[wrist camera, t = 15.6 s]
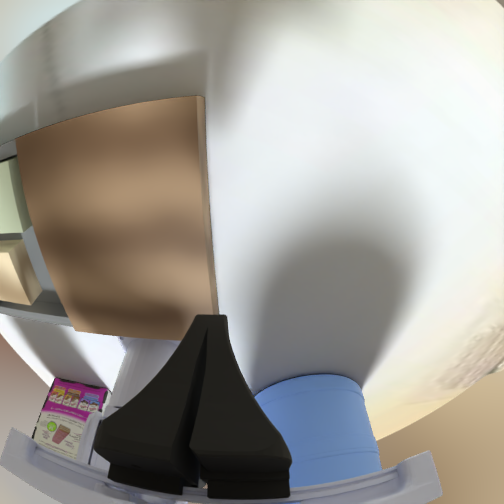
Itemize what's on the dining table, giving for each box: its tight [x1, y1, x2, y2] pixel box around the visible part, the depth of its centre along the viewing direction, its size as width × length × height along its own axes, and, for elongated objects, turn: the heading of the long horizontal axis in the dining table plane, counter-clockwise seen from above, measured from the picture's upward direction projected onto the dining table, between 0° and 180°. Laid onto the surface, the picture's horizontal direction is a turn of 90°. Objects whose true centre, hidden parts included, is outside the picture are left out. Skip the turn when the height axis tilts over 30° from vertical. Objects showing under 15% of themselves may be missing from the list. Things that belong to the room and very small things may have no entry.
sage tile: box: [0, 156, 32, 234], centre depth 16 cm, size 6×6×2 cm
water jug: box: [254, 374, 382, 504], centre depth 21 cm, size 16×16×28 cm
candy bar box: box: [32, 378, 112, 460], centre depth 26 cm, size 11×5×16 cm, turn 92°
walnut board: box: [15, 95, 219, 341], centre depth 18 cm, size 18×14×3 cm
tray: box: [0, 139, 73, 327], centre depth 18 cm, size 18×14×2 cm
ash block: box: [0, 239, 43, 305], centre depth 19 cm, size 6×6×2 cm
